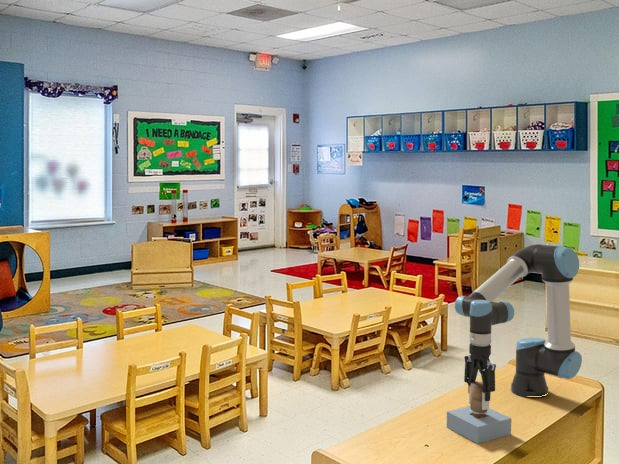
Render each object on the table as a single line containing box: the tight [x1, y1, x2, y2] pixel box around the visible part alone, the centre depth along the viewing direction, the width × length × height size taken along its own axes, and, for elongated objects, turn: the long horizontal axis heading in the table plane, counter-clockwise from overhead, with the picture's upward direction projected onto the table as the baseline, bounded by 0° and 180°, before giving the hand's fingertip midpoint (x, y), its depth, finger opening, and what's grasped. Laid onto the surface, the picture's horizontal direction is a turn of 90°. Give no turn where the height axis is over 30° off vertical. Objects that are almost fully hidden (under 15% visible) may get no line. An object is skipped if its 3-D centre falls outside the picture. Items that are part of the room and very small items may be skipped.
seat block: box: [446, 405, 512, 445], centre depth 225 cm, size 16×16×6 cm
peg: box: [469, 380, 488, 419], centre depth 224 cm, size 6×6×15 cm
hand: (478, 405), depth 224 cm, fingers closed on peg, 6 cm apart
